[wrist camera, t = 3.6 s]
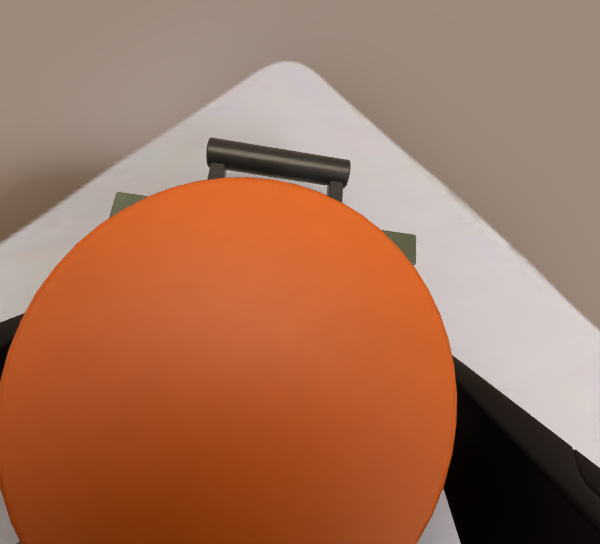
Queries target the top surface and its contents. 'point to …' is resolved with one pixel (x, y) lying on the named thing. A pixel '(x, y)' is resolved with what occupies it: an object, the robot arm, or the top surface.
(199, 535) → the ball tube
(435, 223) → the top surface
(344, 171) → the drawer
